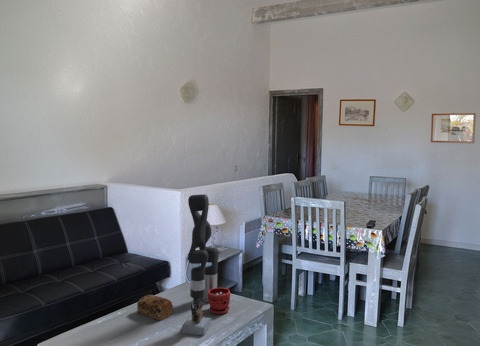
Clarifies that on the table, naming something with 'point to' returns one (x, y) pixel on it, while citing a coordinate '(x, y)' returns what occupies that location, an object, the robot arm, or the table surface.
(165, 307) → the bread
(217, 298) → the plant pot
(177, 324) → the table surface
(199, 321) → the walnut cube
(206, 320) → the pedestal
